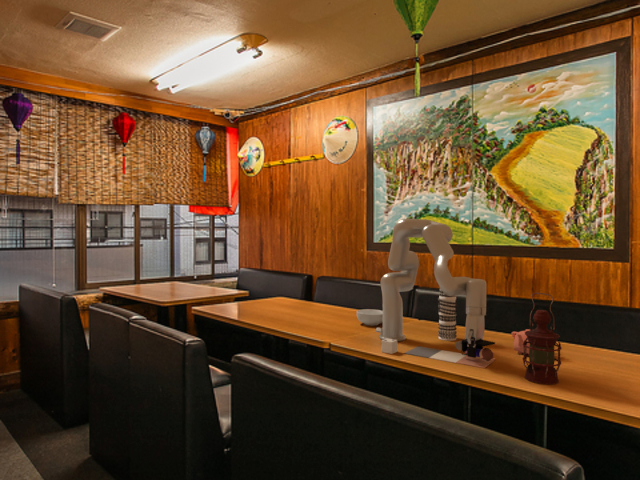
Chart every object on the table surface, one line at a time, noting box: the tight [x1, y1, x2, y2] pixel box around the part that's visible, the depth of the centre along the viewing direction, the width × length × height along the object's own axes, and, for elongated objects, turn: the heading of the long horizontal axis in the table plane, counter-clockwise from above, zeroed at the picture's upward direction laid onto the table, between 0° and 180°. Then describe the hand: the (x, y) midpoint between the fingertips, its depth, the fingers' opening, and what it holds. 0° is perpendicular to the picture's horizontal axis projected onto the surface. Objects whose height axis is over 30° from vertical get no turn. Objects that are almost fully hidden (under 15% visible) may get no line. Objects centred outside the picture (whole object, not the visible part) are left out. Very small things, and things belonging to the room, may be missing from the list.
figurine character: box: [454, 338, 496, 361], centre depth 174 cm, size 7×8×15 cm
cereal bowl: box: [356, 308, 383, 327], centre depth 245 cm, size 17×17×7 cm
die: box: [380, 338, 398, 355], centre depth 188 cm, size 5×5×5 cm
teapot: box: [511, 328, 531, 355], centre depth 185 cm, size 14×12×10 cm
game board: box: [403, 345, 496, 369], centre depth 180 cm, size 33×14×1 cm, turn 53°
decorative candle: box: [437, 288, 459, 342], centre depth 211 cm, size 9×9×25 cm
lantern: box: [522, 292, 563, 386], centre depth 152 cm, size 12×12×30 cm
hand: (475, 354), depth 174 cm, fingers closed on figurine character, 7 cm apart
